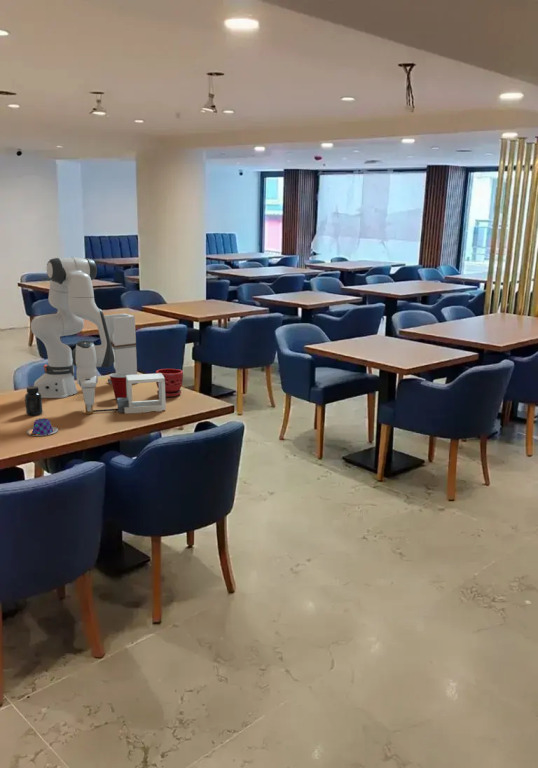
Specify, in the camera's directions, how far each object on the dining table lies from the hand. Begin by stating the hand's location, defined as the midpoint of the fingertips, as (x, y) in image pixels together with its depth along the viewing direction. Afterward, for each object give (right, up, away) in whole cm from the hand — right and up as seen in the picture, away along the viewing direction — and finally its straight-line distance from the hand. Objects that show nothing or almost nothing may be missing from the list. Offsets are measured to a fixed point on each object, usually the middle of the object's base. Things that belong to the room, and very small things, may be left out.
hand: (88, 409), depth 304 cm
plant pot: (+31, +6, +32) cm, 45 cm away
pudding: (-12, -9, -25) cm, 29 cm away
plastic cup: (+9, +4, +24) cm, 26 cm away
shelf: (+23, 0, +7) cm, 24 cm away
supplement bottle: (-23, -2, -1) cm, 24 cm away
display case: (+4, +11, +53) cm, 54 cm away
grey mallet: (+8, -1, +3) cm, 9 cm away
